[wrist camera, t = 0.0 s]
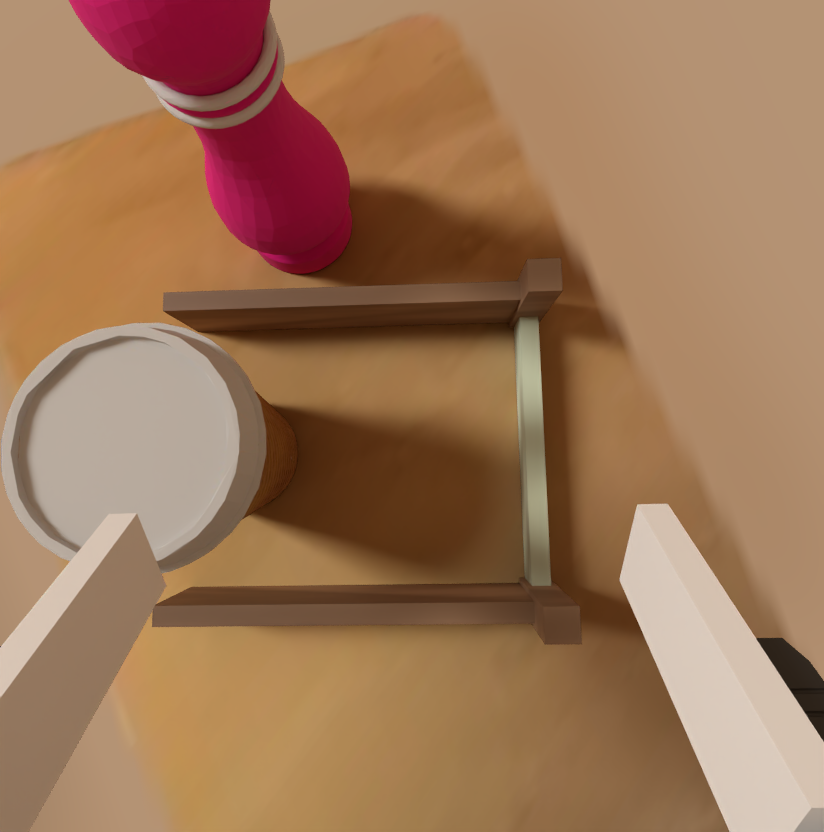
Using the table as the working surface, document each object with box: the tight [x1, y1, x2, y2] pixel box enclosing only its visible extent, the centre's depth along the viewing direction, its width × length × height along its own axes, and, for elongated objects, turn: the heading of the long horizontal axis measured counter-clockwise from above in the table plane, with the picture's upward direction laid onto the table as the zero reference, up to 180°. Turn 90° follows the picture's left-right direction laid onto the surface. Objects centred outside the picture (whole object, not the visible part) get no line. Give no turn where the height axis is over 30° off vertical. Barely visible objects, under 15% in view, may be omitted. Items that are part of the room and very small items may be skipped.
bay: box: [152, 258, 582, 644], centre depth 26 cm, size 18×20×6 cm
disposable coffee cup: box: [1, 323, 298, 573], centre depth 23 cm, size 10×10×12 cm
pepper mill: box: [69, 0, 352, 274], centre depth 21 cm, size 7×7×20 cm
